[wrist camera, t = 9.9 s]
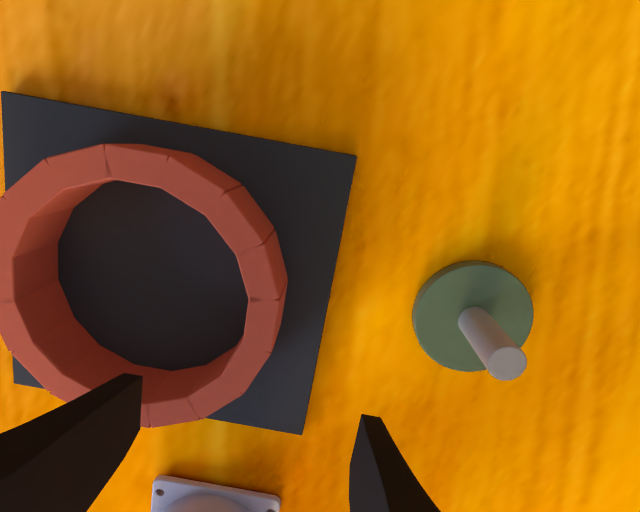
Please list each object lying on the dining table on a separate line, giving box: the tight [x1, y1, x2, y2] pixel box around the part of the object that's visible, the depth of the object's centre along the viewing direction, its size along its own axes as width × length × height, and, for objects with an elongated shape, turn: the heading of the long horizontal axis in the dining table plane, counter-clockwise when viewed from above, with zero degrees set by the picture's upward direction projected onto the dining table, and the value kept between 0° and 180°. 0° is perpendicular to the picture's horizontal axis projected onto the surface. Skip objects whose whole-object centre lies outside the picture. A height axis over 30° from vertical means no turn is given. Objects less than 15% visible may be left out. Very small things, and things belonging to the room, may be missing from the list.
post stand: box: [412, 261, 533, 381], centre depth 19 cm, size 6×6×5 cm
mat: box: [1, 91, 357, 435], centre depth 21 cm, size 16×17×1 cm
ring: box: [0, 144, 288, 428], centre depth 19 cm, size 13×13×3 cm
